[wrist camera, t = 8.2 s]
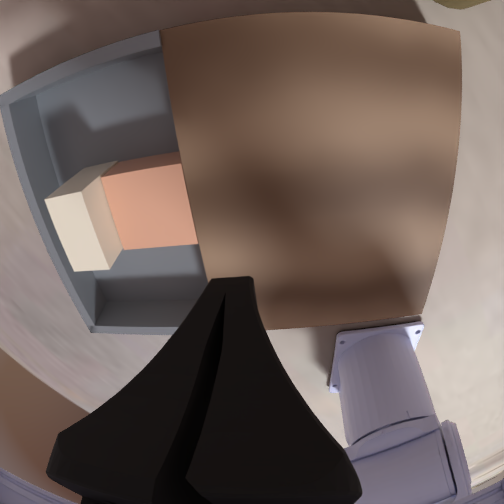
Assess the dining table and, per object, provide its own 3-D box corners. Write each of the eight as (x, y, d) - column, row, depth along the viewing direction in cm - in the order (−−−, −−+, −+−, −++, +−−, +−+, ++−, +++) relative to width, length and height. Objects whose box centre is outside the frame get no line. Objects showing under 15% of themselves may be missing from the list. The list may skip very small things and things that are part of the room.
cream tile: (109, 269, 15) (74, 271, 15) (136, 226, 19) (104, 230, 19) (81, 191, 13) (44, 199, 13) (117, 160, 17) (84, 168, 17)
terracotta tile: (205, 221, 19) (198, 243, 17) (137, 228, 19) (123, 249, 17) (191, 149, 16) (181, 163, 14) (118, 162, 17) (100, 177, 14)
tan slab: (408, 286, 22) (421, 313, 19) (224, 301, 23) (220, 331, 20) (431, 32, 12) (459, 31, 9) (176, 35, 13) (159, 30, 10)
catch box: (224, 301, 23) (220, 334, 20) (104, 304, 24) (90, 332, 21) (176, 35, 13) (158, 29, 10) (30, 87, 14) (-3, 96, 11)
